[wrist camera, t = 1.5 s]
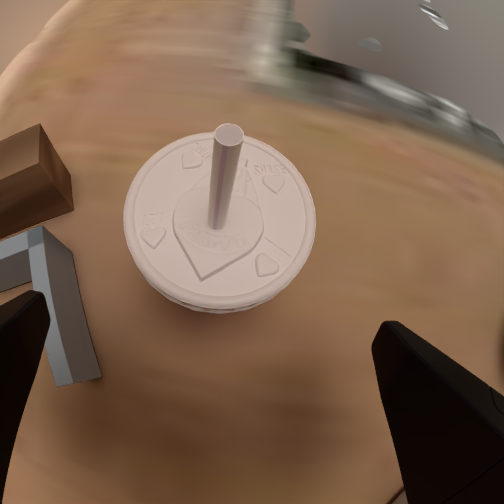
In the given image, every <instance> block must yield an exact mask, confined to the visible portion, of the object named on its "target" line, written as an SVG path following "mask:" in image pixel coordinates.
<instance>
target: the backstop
mask: <svg viewBox="0 0 504 504" xmlns="http://www.w3.org/2000/svg"><path fill="white" fill-rule="evenodd" d="M73 210H74V207H73V198H72V189H71V177H70V173H69V172H68V170H67V168H66V167H65V165H64V164H63V162H62V160H61V159H60V157H59V155H58V154H57V152H56V150H55V149H54V147H53V145H52V143H51V142H50V140H49V138H48V136H47V135H46V133H45V131H44V129H43V128H42V126H41V124H37V125H35V126H32V127H30V128H28V129H26V130H23V131H21V132H19V133H17V134H15V135H12V136H10V137H8V138H6V139H4V140H2V141H0V239H1V238H3V237H5V236H8V235H10V234H13V233H15V232H18V231H20V230H22V229H25V228H27V227H30V226H33V225H35V224H38V223H40V222H43V221H46V220H48V219H51V218H54V217H56V216H59V215H62V214H64V213H67V212H70V211H73Z"/></svg>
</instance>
